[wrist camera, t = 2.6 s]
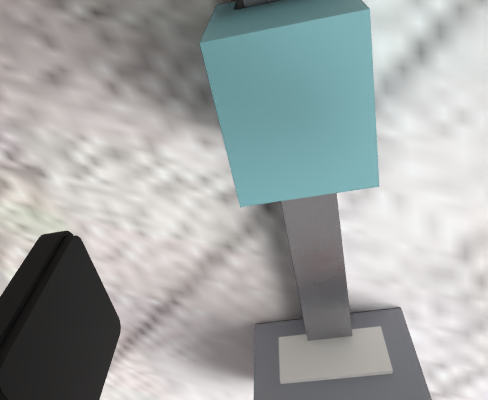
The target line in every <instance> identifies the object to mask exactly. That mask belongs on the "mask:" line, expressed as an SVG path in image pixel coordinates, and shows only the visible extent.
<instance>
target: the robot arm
mask: <svg viewBox="0 0 488 400" xmlns="http://www.w3.org/2000/svg"><path fill="white" fill-rule="evenodd" d="M120 330H121V326H120V320H119V317H118V315H117V313H116V311H115V309H114V307H113V305H112V303H111V300H110V298H109V296H108V294H107V292H106V290H105V288H104V286H103V284H102V282H101V280H100V277H99V275H98V273H97V271H96V269H95V267H94V265H93V263H92V261H91V259H90V257H89V254H88V252H87V250H86V248H85V246H84V244H83V242H82V240H81V238H80V237H79V236H73V234H72V233H71V232H69V231H61V232H55V233H49V234H44V235H41V236H40V237H39V239H38V240H37V242H36V243H35V245H34V246H33V248H32V249H31V251H30V252H29V254H28V255H27V257H26V258H25V260H24V261H23V263H22V264H21V266H20V268H19V269H18V271H17V272H16V274H15V275H14V277H13V278H12V280H11V281H10V283H9V284H8V286H7V287H6V289H5V291H4V292H3V294H2V295H1V296H0V400H99V399H100V396H101V392H102V389H103V386H104V383H105V380H106V377H107V373H108V370H109V367H110V364H111V361H112V358H113V355H114V351H115V348H116V345H117V342H118V339H119V336H120Z"/></svg>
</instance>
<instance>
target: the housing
mask: <svg viewBox="0 0 488 400" xmlns="http://www.w3.org/2000/svg"><path fill="white" fill-rule="evenodd" d="M350 318H351V327H352V336H349V337H339V338H330V339H320V340H311V341H307V335H306V330H305V325H304V320H303V319H297V320H288V321H279V322H270V323H261V324H255V361H254V400H432V399H431V396H430V393H429V390H428V387H427V384H426V381H425V378H424V375H423V372H422V369H421V366H420V363H419V360H418V357H417V354H416V351H415V348H414V345H413V342H412V339H411V336H410V333H409V330H408V327H407V324H406V321H405V318H404V315H403V312H402V309H401V308H395V309H386V310H377V311H368V312H359V313H350Z"/></svg>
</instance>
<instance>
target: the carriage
mask: <svg viewBox="0 0 488 400" xmlns="http://www.w3.org/2000/svg"><path fill="white" fill-rule="evenodd" d="M200 46H201V50H202V54H203V58H204V63H205V67H206V71H207V75H208V79H209V83H210V87H211V91H212V95H213V99H214V103H215V107H216V111H217V115H218V119H219V123H220V127H221V131H222V135H223V139H224V143H225V147H226V151H227V155H228V159H229V163H230V167H231V172H232V176H233V180H234V184H235V188H236V192H237V196H238V200H239V204H240V207H244V206H251V205H258V204H265V203H271V202H278V201H285V200H292V199H298V198H305V197H312V196H319V195H325V194H332V193H339V192H346V191H352V190H359V189H366V188H373V187H379V173H378V154H377V136H376V117H375V98H374V80H373V61H372V42H371V24H370V9H369V8H368V7H367V5H366V4H365V3H364V2H363V1H362V0H281V1H276V2H271V3H266V4H262V5H257V6H252V7H247V8H242V9H238V10H237V5H236V1H235V2H230V3H225V4H221V5H216V7H215V10H214V12H213V14H212V16H211V19H210V21H209V23H208V25H207V28H206V30H205V32H204V34H203V37H202V39H201V41H200Z"/></svg>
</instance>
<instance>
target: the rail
mask: <svg viewBox="0 0 488 400" xmlns="http://www.w3.org/2000/svg"><path fill="white" fill-rule="evenodd" d="M276 1H281V0H243V3H244V8H247V7H252V6H257V5H262V4H266V3H271V2H276ZM281 204H282V209H283V214H284V219H285V225H286V230H287V235H288V240H289V246H290V251H291V256H292V262H293V267H294V272H295V277H296V283H297V288H298V293H299V298H300V304H301V309H302V314H303V320H304V325H305V330H306V335H307V341H311V340H320V339H330V338H339V337H349V336H352V327H351V318H350V309H349V300H348V291H347V282H346V274H345V265H344V256H343V247H342V238H341V229H340V220H339V211H338V202H337V193H332V194H325V195H319V196H312V197H305V198H298V199H292V200H285V201H281Z"/></svg>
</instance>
